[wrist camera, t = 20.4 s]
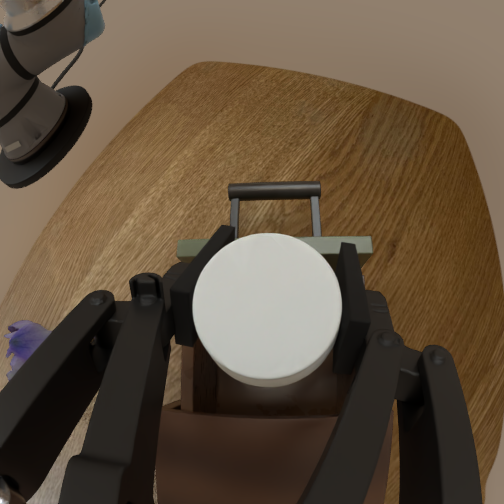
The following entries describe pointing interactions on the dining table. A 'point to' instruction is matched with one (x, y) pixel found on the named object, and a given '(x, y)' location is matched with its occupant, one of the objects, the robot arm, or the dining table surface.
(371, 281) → the dining table surface
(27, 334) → the flower
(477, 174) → the dining table surface
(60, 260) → the dining table surface
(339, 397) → the drawer
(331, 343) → the pill bottle
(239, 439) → the cabinet
